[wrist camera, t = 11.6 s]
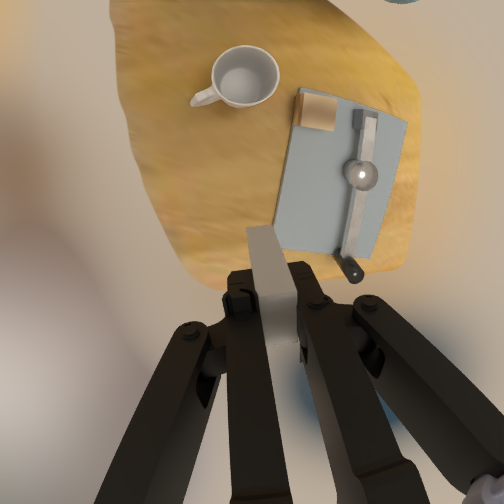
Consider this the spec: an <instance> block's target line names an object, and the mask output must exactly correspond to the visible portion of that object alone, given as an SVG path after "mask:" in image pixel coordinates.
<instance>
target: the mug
mask: <svg viewBox="0 0 504 504" xmlns="http://www.w3.org/2000/svg"><path fill="white" fill-rule="evenodd" d="M279 78H280V72H279V67H278V64H277V62H276V61H275V59H274V58H273V57H272V56H271V55H270V54H269V53H268V52H266V51H265V50H263V49H261V48H258V47H255V46H250V45H242V46H236V47H233V48H230V49H228V50H227V51H225V52H224V53H222V54H221V55H220V56H219V57H218V58H217V60H216V61H215V63H214V65H213V68H212V73H211V79H212V85H211V86H210V87H209V88H207V89H205V90H203V91H200V92H198V93H196V94H195V96H194V97H193V98H192V99H191V101H190V105H191V106H192V107H198V106H204V105H209V104H211V103H213V102H215V101H217V100H223V101H224V102H225V103H226V104H228V105H229V106H231V107H234V108H247V107H251V106H254V105H256V104H259V103H261V102H263V101H265V100H266V99H268V98H269V97H270V96H271V95H272V94H273V93H274V91H275V90H276V88H277V86H278V83H279Z"/></svg>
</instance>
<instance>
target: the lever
mask: <svg viewBox="0 0 504 504" xmlns="http://www.w3.org/2000/svg"><path fill="white" fill-rule="evenodd" d="M377 123H378V112H374V111H370V110H366V109H354V117H353V127H352V128H354V129H359V130H360V139H359V148H358V155H357V159H355V160H353V161H352V162H351V163H350V164H349V165H348V167H347V169H346V178H347V181H348V182H349V184H350V185H352V186H353V188H352V194H351V200H350V206H349V212H348V217H347V222H346V228H345V233H344V238H343V243H342V247H341V248H338V249H336V250H335V252H334V254H333V258H334V260H335V261H336V262H337V264H338V265H339V267H340V268H341V270H342V271H343V273H344V274H345V276H346V277H347V279H348V280H349V282H350V283H352V284H357V283H359V282H361V281H362V280H363V277H364V271H363V270H362V269H361V267H360V266H359V265H358V264H357V262H356V261H355V260H354V259H353V258H354V254H355V249H356V245H357V241H358V236H359V231H360V227H361V222H362V217H363V212H364V207H365V201H366V196H367V191H368V190H371V189H372V188H373V187H374V186H375V185H376V183H377V181H378V170H377V168H376V166H375V165H374V164H373V163H371V162H372V155H373V148H374V140H375V133H376V132H377Z"/></svg>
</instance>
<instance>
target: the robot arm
mask: <svg viewBox="0 0 504 504" xmlns="http://www.w3.org/2000/svg"><path fill="white" fill-rule="evenodd" d="M385 1H388V2H391V3H397V4H407V3H411V2H415V1H418V0H385ZM246 232H247V240H248V248H249V255H250V263H251V269H246V270H239V271H232V272H231V273H230V275H229V276H228V278H227V285H228V286H227V290H228V291H227V292H226V293H225V294H224V295H223V298H222V302H223V307H224V311H225V318H224V319H223V320H221V321H220V322H219V323H216V324H214V325H211V326H208V327H207V326H206V325H205V324H203V323H202V322H197V321H192V322H188V323H184V324H182V325H181V326H179V327H178V328H177V329H176V331H175V332H174V334H173V336H172V338H171V340H170V342H169V344H168V346H167V348H166V350H165V352H164V354H163V356H162V358H161V359H160V362H159V364H158V365H157V368H156V370H155V371H154V374H153V376H152V378H151V380H150V382H149V384H148V386H147V388H146V390H145V392H144V394H143V396H142V398H141V400H140V402H139V404H138V406H137V408H136V411H135V413H134V415H133V417H132V419H131V421H130V424H129V425H128V427H127V430H126V432H125V434H124V436H123V438H122V441H121V443H120V445H119V447H118V449H117V452H116V454H115V456H114V458H113V460H112V462H111V465H110V467H109V469H108V472H107V474H106V476H105V478H104V481H103V483H102V485H101V488H100V490H99V492H98V495H97V497H96V499H95V502H94V504H183V501H184V497H185V494H186V491H187V488H188V484H189V481H190V478H191V475H192V471H193V468H194V465H195V461H196V458H197V455H198V452H199V449H200V445H201V442H202V439H203V435H204V432H205V429H206V425H207V422H208V419H209V416H210V412H211V409H212V406H213V402H214V399H215V396H216V392H217V389H218V386H219V382H220V379H221V374H224V373H227V401H228V426H229V427H228V428H229V448H230V469H231V485H232V497H231V499H230V504H293V500H292V496H291V492H290V487H289V481H288V475H287V470H286V463H285V458H284V452H283V446H282V440H281V434H280V428H279V422H278V416H277V410H276V404H275V398H274V392H273V386H272V381H271V374H270V368H269V363H268V356H267V350H266V347H269V346H276V345H283V344H289V343H295V342H298V337H299V340H300V363H301V362H303V364H304V367H305V371H306V375H307V378H308V382H309V386H310V389H311V393H312V397H313V401H314V404H315V408H316V412H317V416H318V420H319V423H320V427H321V431H322V435H323V439H324V443H325V447H326V451H327V455H328V459H329V463H330V467H331V471H332V475H333V478H334V483H335V487H336V492H337V504H430V502H429V499H428V496H427V493H426V490H425V487H424V485H423V482H422V479H421V477H420V474H419V471H418V469H417V467H416V465H415V464H414V463H413V462H412V461H411V460H408V459H406V458H404V457H403V456H402V454H401V452H400V449H399V447H398V444H397V442H396V439H395V437H394V434H393V432H392V429H391V427H390V424H389V422H388V419H387V417H386V415H385V412H384V410H383V407H382V405H381V403H380V401H379V398H378V396H377V394H376V391H377V392H378V394H379V395H380V396H381V397H382V399H383V400H384V401H385V402H386V403H387V405H388V406H389V407H390V409H391V410H392V411H393V412H394V414H395V415H396V416H397V417H398V419H399V420H400V421H401V422H402V424H403V425H404V426H405V428H406V429H407V430H408V431H409V433H410V434H411V435H412V436H413V438H414V439H415V440H416V442H417V443H418V444H419V445H420V447H421V448H422V449H423V450H424V452H425V453H426V454H427V455H428V457H429V458H430V459H431V461H432V462H433V463H434V464H435V466H436V467H437V468H438V470H439V471H440V472H441V473H442V475H443V476H444V477H445V478H446V479H447V480H448V481H449V483H450V484H451V485H452V486H454V487H455V488H456V489H457V490H458V491H460V492H462V493H463V494H465V495H466V497H465V499H464V500H463V502H462V504H504V415H503V414H502V413H501V412H500V411H499V410H498V409H497V408H496V407H495V406H494V405H493V404H492V403H491V401H490V400H489V399H488V398H487V397H486V396H485V395H484V394H483V393H482V392H481V391H480V390H479V389H478V388H477V387H476V386H475V385H474V384H473V383H472V382H471V381H470V380H469V379H468V378H467V377H466V376H465V375H464V374H463V373H462V372H461V371H460V370H459V369H458V368H457V367H456V366H454V364H453V363H451V362H450V361H449V360H448V359H447V358H446V357H445V356H444V355H443V354H442V353H441V352H440V351H439V350H438V349H437V348H436V347H435V346H433V345H432V344H431V343H430V342H429V341H428V340H427V339H426V338H425V337H424V336H423V335H422V334H421V333H420V332H418V331H417V330H416V329H415V328H414V327H413V326H412V325H411V324H410V323H409V322H407V321H406V320H405V319H404V318H403V317H402V316H401V315H399V314H398V313H397V312H396V311H395V310H394V309H393V308H392V307H390V306H389V305H388V304H387V303H386V302H385V301H384V300H382V299H381V298H379V297H378V296H374V295H362V296H359V297H357V298H356V299H355V301H354V302H353V305H348V304H337V303H334V302H333V300H332V299H331V298H330V297H329V296H327V295H325V294H324V293H323V291H322V289H321V287H320V285H319V283H318V281H317V279H316V278H315V275H314V273H313V271H312V269H311V267H310V265H308V264H307V263H305V262H304V261H299V262H292V263H287V262H286V260H285V257H284V254H283V252H282V249H281V246H280V244H279V241H278V239H277V236H276V233H275V231H274V228H273V226H272V224H271V225H264V226H256V227H248V228H246ZM375 390H376V391H375Z"/></svg>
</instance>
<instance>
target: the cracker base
mask: <svg viewBox="0 0 504 504" xmlns="http://www.w3.org/2000/svg"><path fill="white" fill-rule="evenodd" d="M304 92H306V93H311V94H316V95H321V96H326V97H331V98H335V99H338V102H337V111H336V119H335V126H334V132H333V131H327V130H321V129H315V128H309V127H303V126H296V125H293V123H292V128H291V133H290V139H289V144H288V149H287V154H286V160H285V165H284V170H283V175H282V180H281V185H280V190H279V196H278V201H277V206H276V211H275V216H274V221H273V228H274V231H275V233H276V236H277V239H278V241H279V244H280V246H281V249H287V250H296V251H305V252H314V253H322V254H331V255H333V254H334V252H335V250H336V249H338V248H341V247H342V243H343V238H344V233H345V228H346V222H347V217H348V212H349V206H350V200H351V194H352V188H353V186H352V185H350V184H349V182H348V181H347V178H346V169H347V167H348V165H349V164H350V163H351V162H352V161H353V160H355V159H357V155H358V148H359V139H360V130H359V129H354V128H352V127H353V117H354V109H366V110H370V111H374V112H378V123H377V132H376V133H375V140H374V148H373V155H372V162H371V163H373V164H374V165H375V166H376V168H377V170H378V181H377V183H376V185H375V186H374V187H373V188H372V189H371V190H368V191H367V196H366V201H365V207H364V212H363V217H362V222H361V227H360V231H359V236H358V241H357V245H356V249H355V254H354V257H356V258H365V259H370V257H371V254H372V251H373V249H374V246H375V243H376V240H377V237H378V234H379V231H380V228H381V224H382V221H383V218H384V215H385V212H386V208H387V205H388V201H389V198H390V194H391V191H392V187H393V183H394V180H395V176H396V172H397V168H398V164H399V160H400V155H401V151H402V146H403V142H404V137H405V132H406V127H407V122H406V121H404V120H402V119H399V118H397V117H394V116H392V115H389V114H387V113H384V112H381V111H379V110H376V109H373V108H371V107H368V106H365V105H362V104H359V103H356V102H353V101H350V100H347V99H343V98H340V97H337V96H333V95H330V94H326V93H323V92H319V91H315V90H311V89H307V88H303V87H300V88H299V90H298V94H301V93H304ZM293 118H294V117H293Z"/></svg>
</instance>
